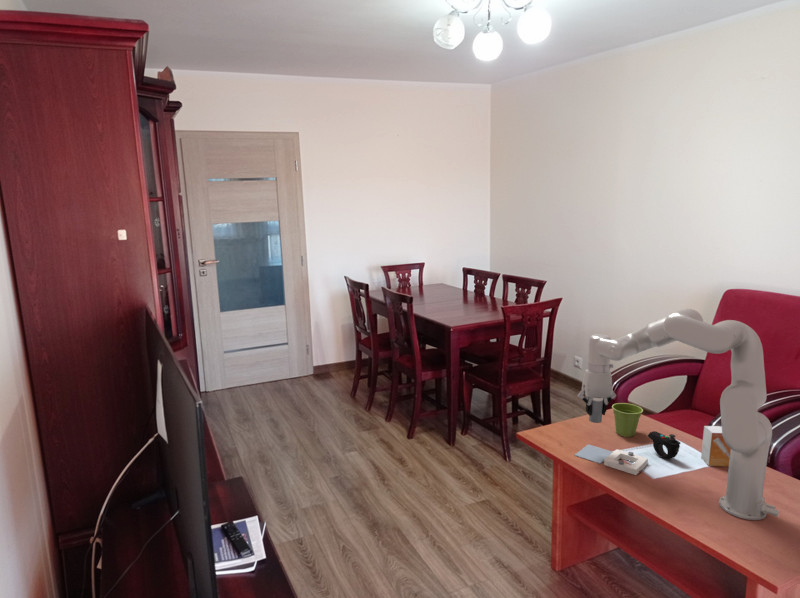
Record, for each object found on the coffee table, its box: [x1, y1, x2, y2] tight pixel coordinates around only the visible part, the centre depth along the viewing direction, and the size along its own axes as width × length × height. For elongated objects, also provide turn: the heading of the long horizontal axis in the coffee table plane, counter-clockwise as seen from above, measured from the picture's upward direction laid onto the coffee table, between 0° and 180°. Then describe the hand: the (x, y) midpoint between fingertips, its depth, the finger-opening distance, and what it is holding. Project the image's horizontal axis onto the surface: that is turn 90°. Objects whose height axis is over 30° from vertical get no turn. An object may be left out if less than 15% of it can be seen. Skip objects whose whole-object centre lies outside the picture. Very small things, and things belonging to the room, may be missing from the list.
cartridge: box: [588, 397, 603, 424], centre depth 202 cm, size 5×5×10 cm
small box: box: [700, 425, 731, 468], centre depth 197 cm, size 8×6×13 cm
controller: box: [647, 430, 681, 460], centre depth 202 cm, size 4×12×10 cm, turn 23°
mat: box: [574, 443, 614, 465], centre depth 206 cm, size 10×12×1 cm
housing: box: [603, 448, 649, 476], centre depth 197 cm, size 12×12×3 cm
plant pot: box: [611, 402, 644, 438], centre depth 222 cm, size 12×12×11 cm
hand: (595, 413), depth 203 cm, fingers closed on cartridge, 4 cm apart
